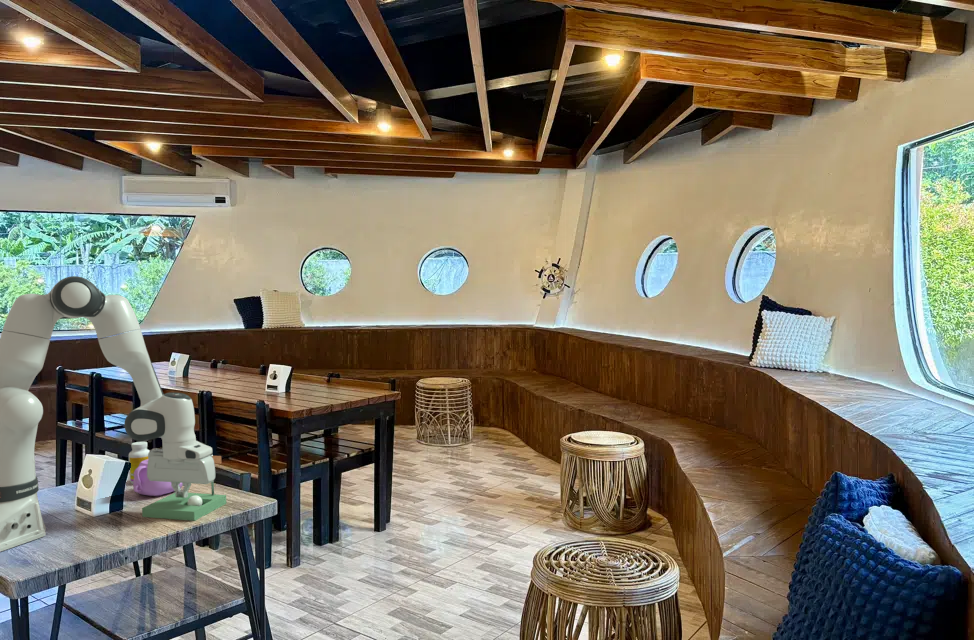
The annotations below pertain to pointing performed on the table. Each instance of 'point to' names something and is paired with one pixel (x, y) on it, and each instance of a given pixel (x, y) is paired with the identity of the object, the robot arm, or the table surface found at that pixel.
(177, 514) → the mat
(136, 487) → the teapot
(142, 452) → the supplement bottle
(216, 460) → the flag pin
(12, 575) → the table surface
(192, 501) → the ball
